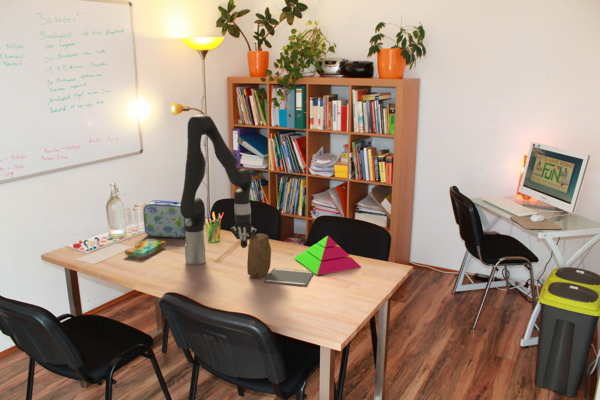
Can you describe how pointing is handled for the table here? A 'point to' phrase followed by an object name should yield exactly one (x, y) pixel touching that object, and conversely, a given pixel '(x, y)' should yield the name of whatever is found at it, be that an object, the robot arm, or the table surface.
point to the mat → (289, 277)
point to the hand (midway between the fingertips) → (244, 247)
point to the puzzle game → (145, 248)
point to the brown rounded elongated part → (259, 255)
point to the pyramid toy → (326, 258)
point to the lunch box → (164, 219)
